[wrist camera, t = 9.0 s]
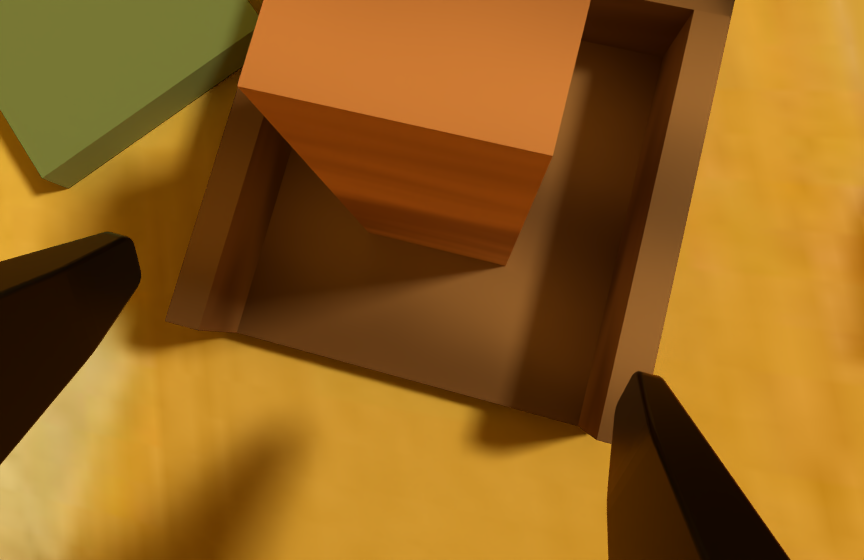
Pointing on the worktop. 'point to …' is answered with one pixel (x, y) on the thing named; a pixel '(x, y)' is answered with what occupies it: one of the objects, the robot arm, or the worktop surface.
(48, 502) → the worktop surface
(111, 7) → the notebook
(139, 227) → the worktop surface
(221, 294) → the tray
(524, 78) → the block
